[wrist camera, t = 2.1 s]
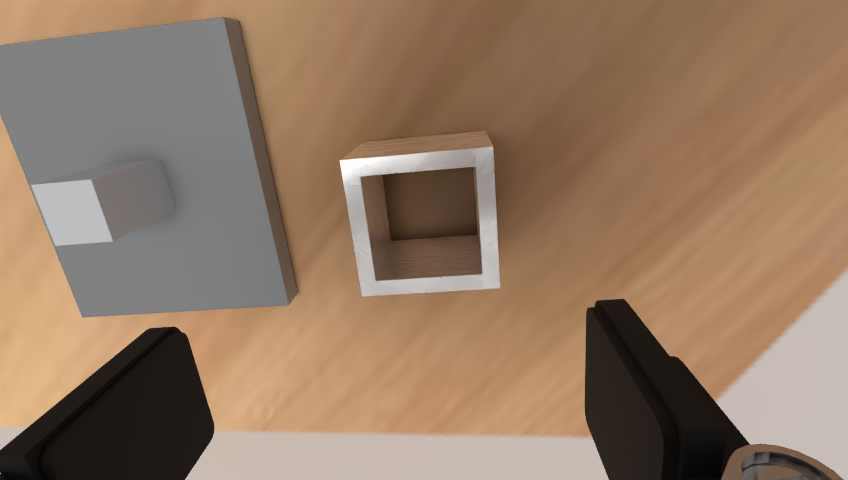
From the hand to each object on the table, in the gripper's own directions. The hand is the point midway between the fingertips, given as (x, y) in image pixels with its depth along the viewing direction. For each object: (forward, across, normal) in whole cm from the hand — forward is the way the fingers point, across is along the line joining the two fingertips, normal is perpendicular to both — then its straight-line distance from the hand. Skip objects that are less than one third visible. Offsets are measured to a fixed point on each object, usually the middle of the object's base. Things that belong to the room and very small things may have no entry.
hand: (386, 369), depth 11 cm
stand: (+14, +14, -3) cm, 20 cm away
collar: (+14, 0, -1) cm, 14 cm away
